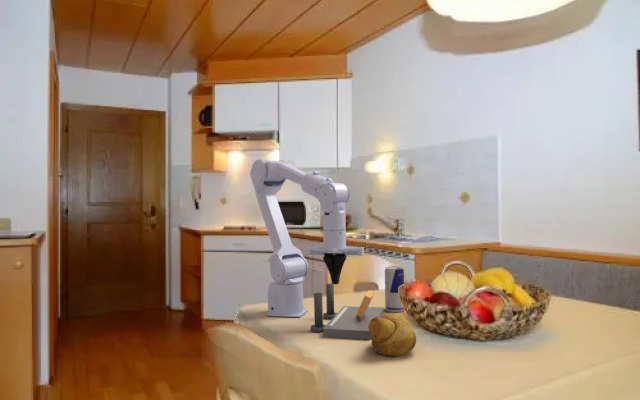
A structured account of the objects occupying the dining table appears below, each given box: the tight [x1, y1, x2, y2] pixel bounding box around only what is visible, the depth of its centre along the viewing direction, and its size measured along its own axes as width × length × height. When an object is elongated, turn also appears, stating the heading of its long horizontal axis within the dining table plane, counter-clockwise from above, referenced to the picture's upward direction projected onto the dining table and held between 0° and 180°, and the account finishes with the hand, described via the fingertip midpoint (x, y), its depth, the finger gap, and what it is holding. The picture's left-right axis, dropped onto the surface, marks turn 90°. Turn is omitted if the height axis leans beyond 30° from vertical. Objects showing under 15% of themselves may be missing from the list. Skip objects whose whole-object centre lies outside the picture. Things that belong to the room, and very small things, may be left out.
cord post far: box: [323, 283, 338, 321], centre depth 128 cm, size 4×4×9 cm
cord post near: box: [310, 292, 327, 334], centre depth 116 cm, size 4×4×9 cm
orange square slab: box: [355, 290, 375, 320], centre depth 119 cm, size 2×6×6 cm, turn 166°
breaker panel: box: [323, 305, 384, 341], centre depth 120 cm, size 11×22×2 cm, turn 165°
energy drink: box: [384, 265, 405, 313], centre depth 134 cm, size 5×5×12 cm
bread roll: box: [368, 313, 417, 357], centre depth 102 cm, size 13×10×8 cm
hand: (335, 283), depth 121 cm, fingers closed
